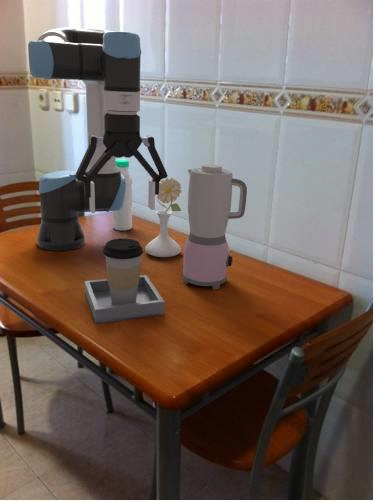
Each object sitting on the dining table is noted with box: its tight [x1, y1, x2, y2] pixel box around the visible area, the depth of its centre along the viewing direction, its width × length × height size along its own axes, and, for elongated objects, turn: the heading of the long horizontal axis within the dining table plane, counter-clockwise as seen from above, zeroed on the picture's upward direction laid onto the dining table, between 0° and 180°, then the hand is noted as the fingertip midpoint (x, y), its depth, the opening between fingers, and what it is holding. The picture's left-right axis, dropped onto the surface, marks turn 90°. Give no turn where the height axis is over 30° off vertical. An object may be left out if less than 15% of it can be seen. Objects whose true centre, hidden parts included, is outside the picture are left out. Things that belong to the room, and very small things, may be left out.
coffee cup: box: [102, 238, 144, 305], centre depth 110 cm, size 9×9×15 cm
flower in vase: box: [144, 177, 182, 258], centre depth 141 cm, size 13×11×25 cm
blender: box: [182, 163, 248, 290], centre depth 122 cm, size 16×12×32 cm
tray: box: [84, 274, 165, 324], centre depth 112 cm, size 16×16×4 cm
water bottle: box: [112, 158, 133, 232], centre depth 165 cm, size 7×7×25 cm
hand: (122, 210), depth 104 cm, fingers open, 13 cm apart
